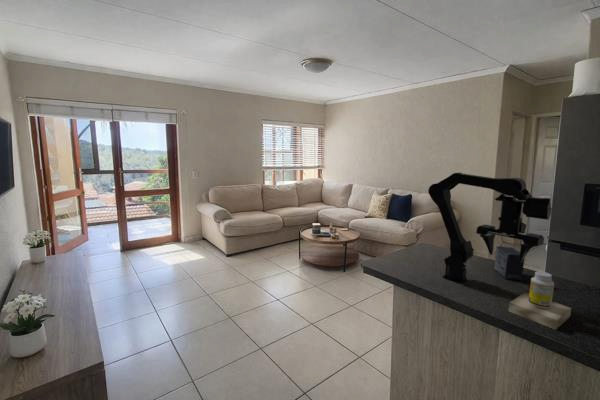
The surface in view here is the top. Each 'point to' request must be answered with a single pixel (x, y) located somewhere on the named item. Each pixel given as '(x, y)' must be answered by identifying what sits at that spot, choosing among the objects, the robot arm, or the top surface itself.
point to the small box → (508, 263)
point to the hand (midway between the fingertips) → (505, 258)
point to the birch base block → (540, 312)
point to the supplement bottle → (541, 290)
